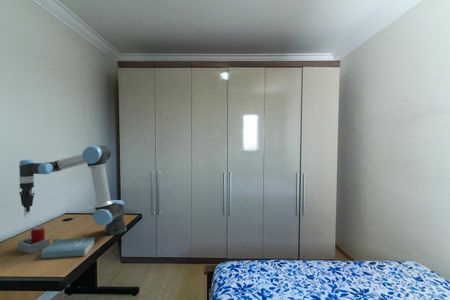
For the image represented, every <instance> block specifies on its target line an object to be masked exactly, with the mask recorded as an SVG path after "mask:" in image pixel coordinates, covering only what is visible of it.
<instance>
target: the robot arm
mask: <svg viewBox="0 0 450 300" xmlns="http://www.w3.org/2000/svg"><path fill="white" fill-rule="evenodd" d="M111 157H112V150H111V148H109V147H108V146H107V145H103V144H102V145H90V146H87V147H86V148H85V149H84V150H83V151H82V154H78V155H73V156H70V157H65V158H62V159H58V160H54V161H48V162H34V161H35V160H33V159H21V160H20V161H19V166H18V169H19V171H18V172H19V179H18V180H19V181H18V182H19V189H20V190H21V191H19V197H20V203H21V207H23V217H25V218H26V217H30V216H31V207H33V202H34V196H35V192H33V188H35V186H34V185H35V182H34V180H35V177H34V176H35V175H49V174H51V173H54V172H55V173H56V172H61V171H63V170H67V169H70V168H71V169H72V168H76V167H78V166H82V165H85V164H87V167H88V168H89V169H90V172H91V179H92V184H93V190H94V195H95V201H96V205H94V209H95V211H94V213H93V215H92V219H93V221H94V223H95V224H97V225H98V226H102V227H103V226H105V228H104V229H103V233H104V234H105V235H107V236H114V235H119V234H123V233H125V232H126V231H127V225H126V222H125V202H124V200H121V199H120V200H119V199H115V200H113V199H112V200H111V195H110V190H109V182H108V178H107V169H106V165H108V162H107V161H108V160H109V159H111Z"/></svg>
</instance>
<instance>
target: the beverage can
mask: <svg viewBox="0 0 450 300" xmlns="http://www.w3.org/2000/svg"><path fill="white" fill-rule="evenodd" d="M45 231H46V230H45V228H44V226H42V225H41V226H35V227H33V228H32V230H31V231H30V238H31V244H34V243H37V242H40V241H43V240H46V239H45V237H46V235H45V234H46V232H45Z"/></svg>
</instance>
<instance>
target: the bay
mask: <svg viewBox="0 0 450 300" xmlns="http://www.w3.org/2000/svg"><path fill="white" fill-rule="evenodd" d="M56 239H59V237H56V238H53V239H52V242H54V241H55V240H56ZM50 244H51V241H50V238H47V239H45V240H43V241H40V242H37V243H34V244H31V237H29V238H26V239H23V240H20V241H17V251H20V252H23V253H25V254H29V255H31V254H34V253H36V252H38V251H42V250H44V249H45V248H46V247H47V246H48V245H50Z"/></svg>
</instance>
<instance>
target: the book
mask: <svg viewBox="0 0 450 300" xmlns="http://www.w3.org/2000/svg"><path fill="white" fill-rule="evenodd" d="M95 239H96V238H95V237H79V238H62V239H61V238H58V239H56V240H55V241H54V242H53V241H52V242H50V245H48V246H47V247H46V248H44V249H42V250H41V252H40V253H41V255H40V256H41V257H40V258H41V259H52V258H53V259H54V258H69V257H70V258H73V257H85V256H86V255H87V254H88V253H89V251H91V249H92V248H93V247H94V246H95V245H96V244H95Z"/></svg>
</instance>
